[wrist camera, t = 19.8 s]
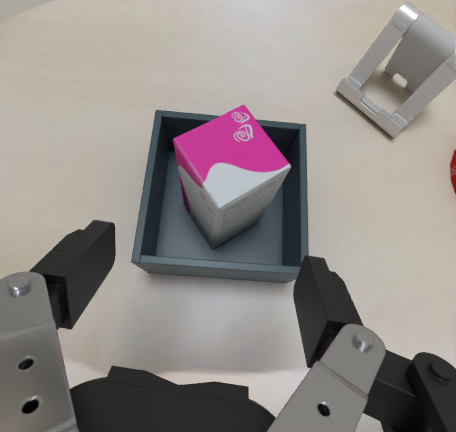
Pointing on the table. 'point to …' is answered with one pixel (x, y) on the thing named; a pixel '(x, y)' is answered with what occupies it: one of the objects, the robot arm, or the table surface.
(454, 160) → the kitchen timer
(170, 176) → the bin
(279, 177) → the supplement box
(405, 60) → the tablet stand
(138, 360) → the table surface
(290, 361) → the table surface
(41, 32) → the table surface
